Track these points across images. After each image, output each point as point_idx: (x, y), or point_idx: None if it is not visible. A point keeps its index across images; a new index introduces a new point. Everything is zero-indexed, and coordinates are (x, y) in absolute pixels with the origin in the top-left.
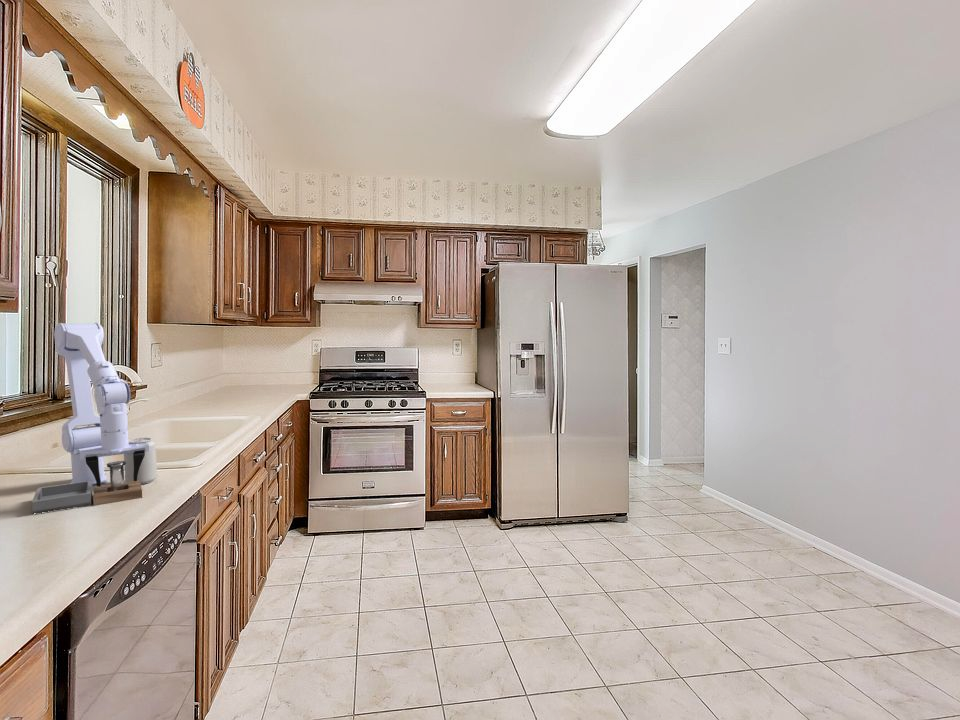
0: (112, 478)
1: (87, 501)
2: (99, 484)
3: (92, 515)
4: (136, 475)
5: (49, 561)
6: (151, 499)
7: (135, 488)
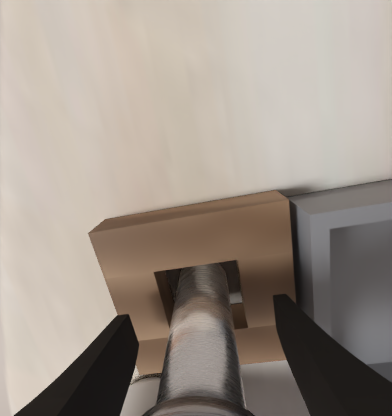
0: (220, 327)
1: (306, 199)
2: (280, 300)
3: (262, 15)
4: (101, 336)
5: None
6: (58, 174)
7: (124, 265)
